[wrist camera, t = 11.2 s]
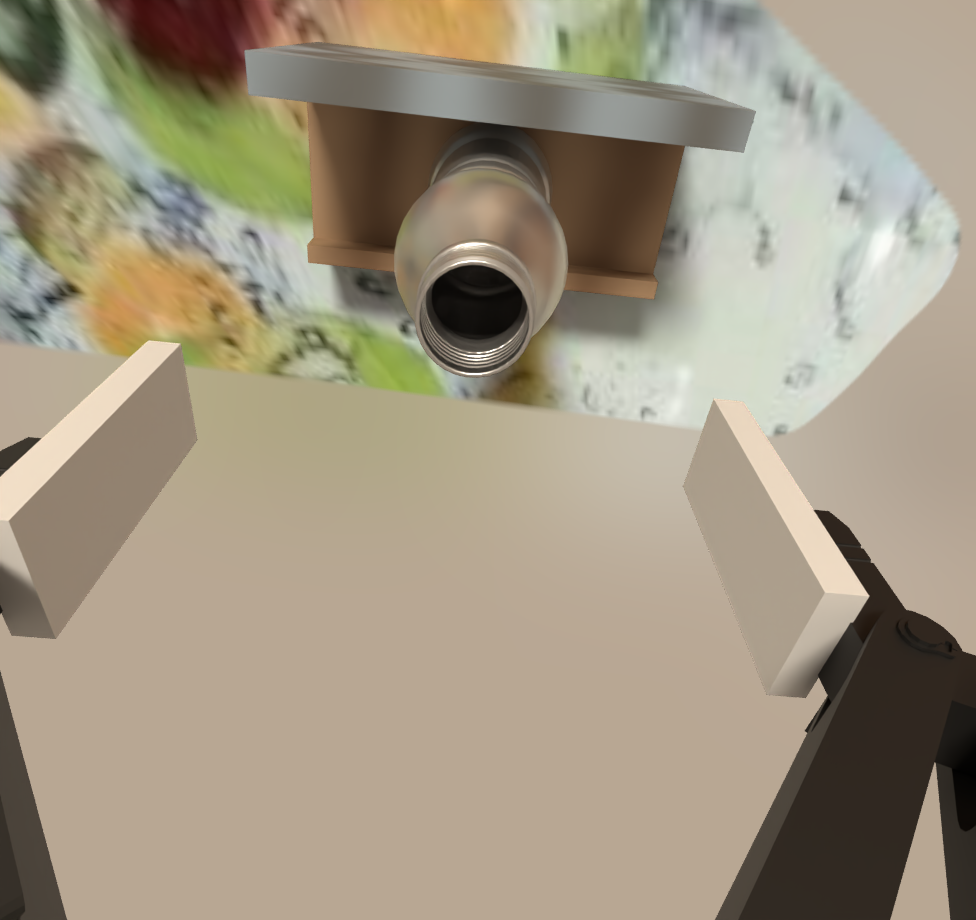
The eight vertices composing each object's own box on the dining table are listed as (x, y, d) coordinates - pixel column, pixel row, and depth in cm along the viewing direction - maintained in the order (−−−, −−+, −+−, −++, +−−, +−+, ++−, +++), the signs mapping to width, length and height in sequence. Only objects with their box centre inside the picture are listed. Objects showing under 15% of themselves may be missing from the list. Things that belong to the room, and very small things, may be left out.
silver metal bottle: (561, 126, 34) (610, 221, 17) (536, 254, 38) (557, 433, 21) (439, 104, 34) (370, 181, 17) (426, 236, 37) (360, 404, 21)
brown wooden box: (326, 240, 40) (268, 311, 31) (318, 41, 35) (244, 50, 25) (640, 274, 41) (683, 354, 31) (684, 86, 35) (755, 111, 26)
